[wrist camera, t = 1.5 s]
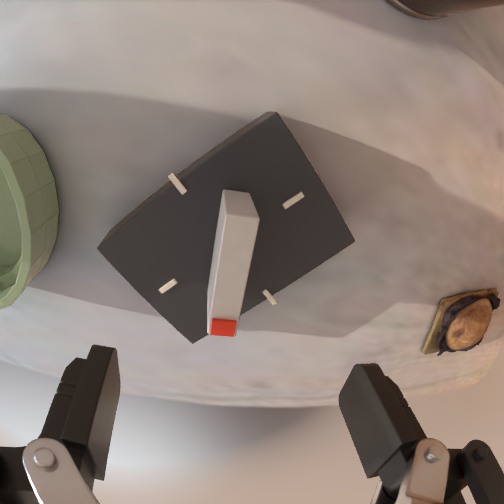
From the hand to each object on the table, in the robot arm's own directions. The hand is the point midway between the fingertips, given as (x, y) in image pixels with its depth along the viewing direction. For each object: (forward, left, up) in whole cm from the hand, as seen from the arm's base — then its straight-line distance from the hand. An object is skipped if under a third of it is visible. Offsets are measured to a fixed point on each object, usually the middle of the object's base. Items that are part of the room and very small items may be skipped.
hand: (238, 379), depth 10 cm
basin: (+14, -14, -14) cm, 24 cm away
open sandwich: (-15, +25, -14) cm, 33 cm away
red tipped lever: (0, 0, -11) cm, 11 cm away
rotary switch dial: (0, 0, -14) cm, 14 cm away
